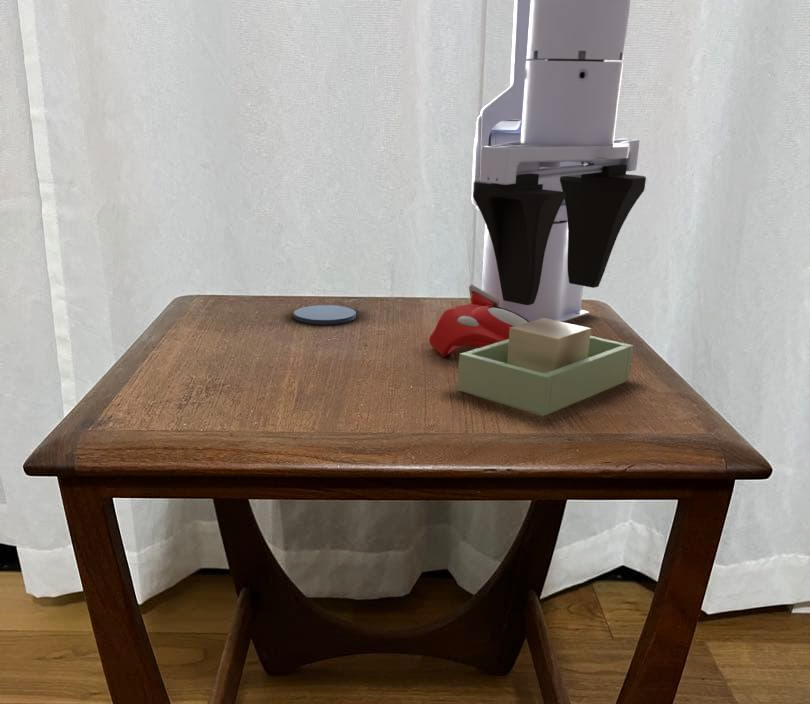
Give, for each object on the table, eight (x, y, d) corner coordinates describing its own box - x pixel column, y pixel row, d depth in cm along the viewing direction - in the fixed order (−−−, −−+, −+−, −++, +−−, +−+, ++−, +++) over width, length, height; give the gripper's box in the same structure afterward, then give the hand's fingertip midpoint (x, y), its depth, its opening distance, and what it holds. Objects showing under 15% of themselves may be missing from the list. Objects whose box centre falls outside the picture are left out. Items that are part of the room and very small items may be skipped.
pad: (327, 306, 83) (326, 302, 83) (368, 317, 80) (368, 312, 79) (281, 316, 79) (281, 311, 79) (322, 327, 76) (322, 323, 76)
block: (538, 372, 64) (543, 317, 62) (584, 384, 62) (591, 328, 60) (505, 384, 61) (509, 327, 60) (552, 397, 59) (558, 339, 57)
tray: (545, 365, 67) (549, 326, 66) (628, 386, 63) (634, 345, 62) (457, 396, 60) (459, 353, 59) (542, 422, 56) (547, 377, 55)
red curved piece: (581, 345, 68) (486, 330, 62) (557, 395, 70) (462, 385, 64) (495, 279, 76) (402, 261, 70) (475, 326, 78) (384, 312, 72)
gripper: (561, 58, 45) (538, 322, 51) (693, 64, 54) (660, 286, 61) (456, 58, 49) (447, 302, 56) (596, 64, 59) (574, 271, 65)
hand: (552, 293), depth 59 cm, fingers open, 7 cm apart
